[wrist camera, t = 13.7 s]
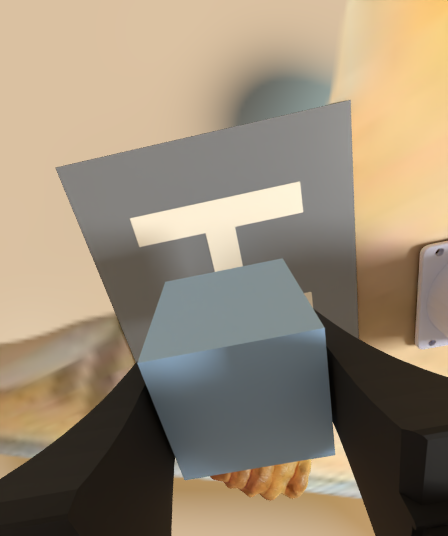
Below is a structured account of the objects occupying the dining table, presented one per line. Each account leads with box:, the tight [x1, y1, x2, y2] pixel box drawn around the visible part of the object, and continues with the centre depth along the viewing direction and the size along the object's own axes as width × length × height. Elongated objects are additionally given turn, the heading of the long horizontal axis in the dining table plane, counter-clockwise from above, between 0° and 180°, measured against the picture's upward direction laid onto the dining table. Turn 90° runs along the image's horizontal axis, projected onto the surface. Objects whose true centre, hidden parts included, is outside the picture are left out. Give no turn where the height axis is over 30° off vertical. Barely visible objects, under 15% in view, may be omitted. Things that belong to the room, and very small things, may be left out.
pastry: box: [210, 459, 311, 500], centre depth 24 cm, size 9×7×4 cm
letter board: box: [56, 100, 359, 362], centre depth 19 cm, size 16×16×1 cm
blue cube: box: [137, 258, 335, 480], centre depth 11 cm, size 5×5×5 cm
